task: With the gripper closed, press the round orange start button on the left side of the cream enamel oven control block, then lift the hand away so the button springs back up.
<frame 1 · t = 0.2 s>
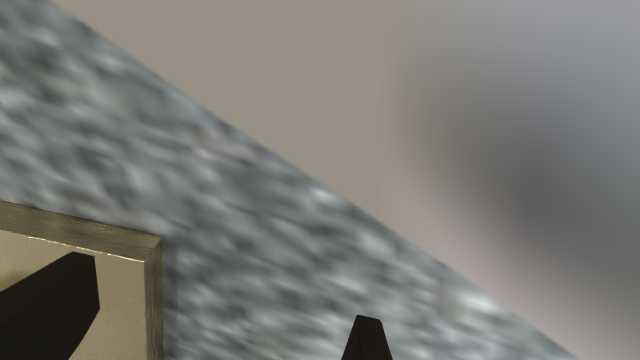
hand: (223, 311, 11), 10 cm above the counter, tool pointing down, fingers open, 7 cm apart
oven controls: (80, 295, 26), on the counter
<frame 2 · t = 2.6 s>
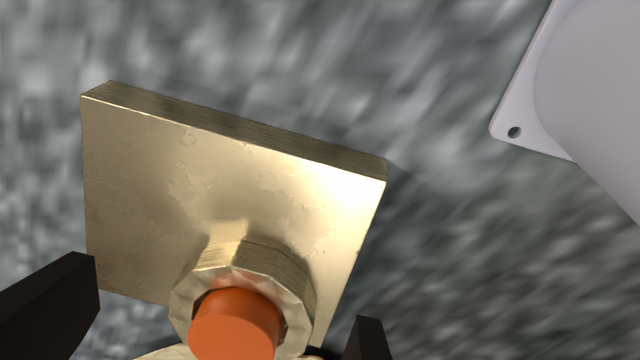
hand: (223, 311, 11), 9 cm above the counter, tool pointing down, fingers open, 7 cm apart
oven controls: (231, 214, 21), on the counter
start button: (236, 331, 19), point 4 cm above the counter, slide at 0.1 cm
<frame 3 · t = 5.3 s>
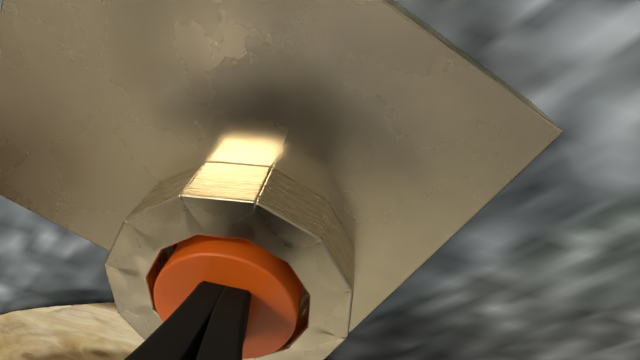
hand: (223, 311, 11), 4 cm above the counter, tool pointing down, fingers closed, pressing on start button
oven controls: (250, 128, 13), on the counter
start button: (233, 288, 12), point 3 cm above the counter, slide at -0.9 cm, touching gripper
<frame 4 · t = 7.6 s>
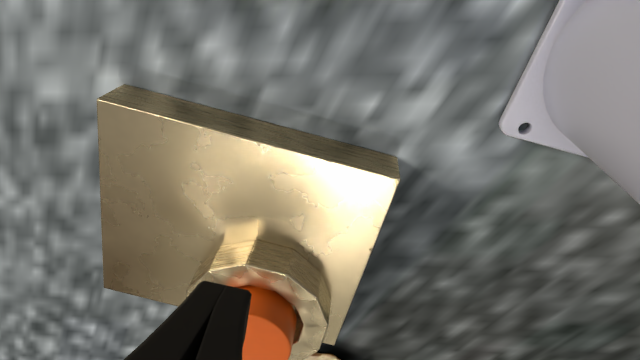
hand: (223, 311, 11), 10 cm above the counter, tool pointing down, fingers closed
oven controls: (244, 215, 21), on the counter
start button: (252, 329, 19), point 4 cm above the counter, slide at 0.1 cm
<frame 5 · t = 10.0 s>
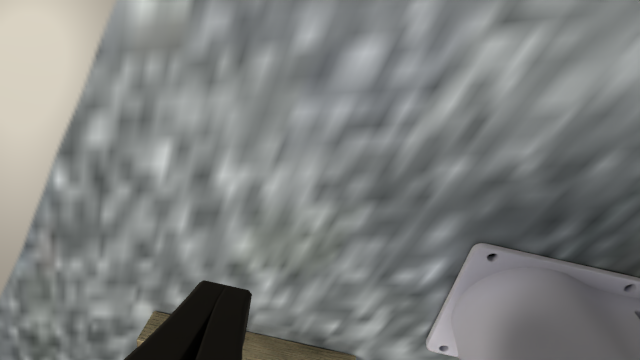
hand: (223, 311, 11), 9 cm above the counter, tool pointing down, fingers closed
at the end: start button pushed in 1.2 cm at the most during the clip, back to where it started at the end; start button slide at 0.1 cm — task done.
